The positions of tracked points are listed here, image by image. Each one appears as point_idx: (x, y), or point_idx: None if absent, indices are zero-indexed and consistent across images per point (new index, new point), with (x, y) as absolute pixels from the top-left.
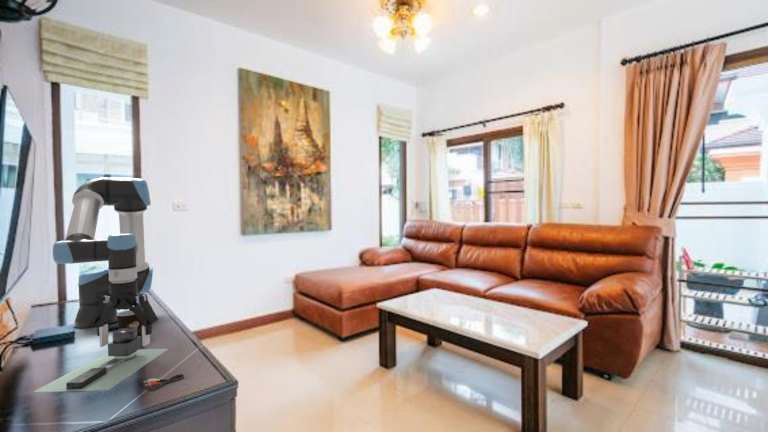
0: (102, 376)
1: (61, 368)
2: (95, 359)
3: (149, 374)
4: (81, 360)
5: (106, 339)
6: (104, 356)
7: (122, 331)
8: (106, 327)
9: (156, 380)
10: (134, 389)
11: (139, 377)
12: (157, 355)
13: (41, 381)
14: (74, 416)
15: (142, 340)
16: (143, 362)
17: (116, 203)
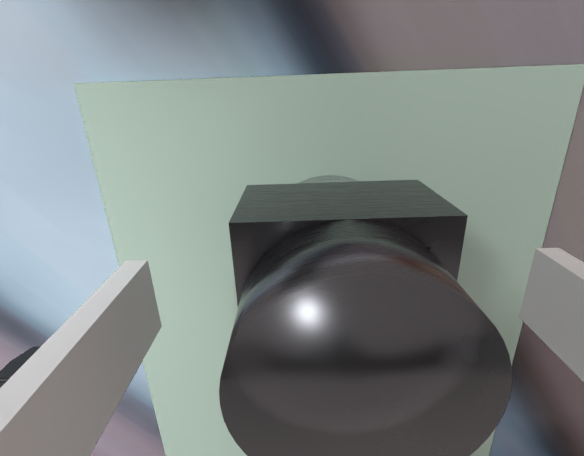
0: None
1: (36, 341)
2: (131, 257)
3: (578, 405)
4: (30, 245)
5: (129, 311)
6: (147, 210)
7: (347, 420)
8: (34, 426)
9: None
10: None
11: (541, 427)
12: (541, 204)
13: (101, 446)
14: None
15: (555, 350)
16: (492, 305)
17: None
